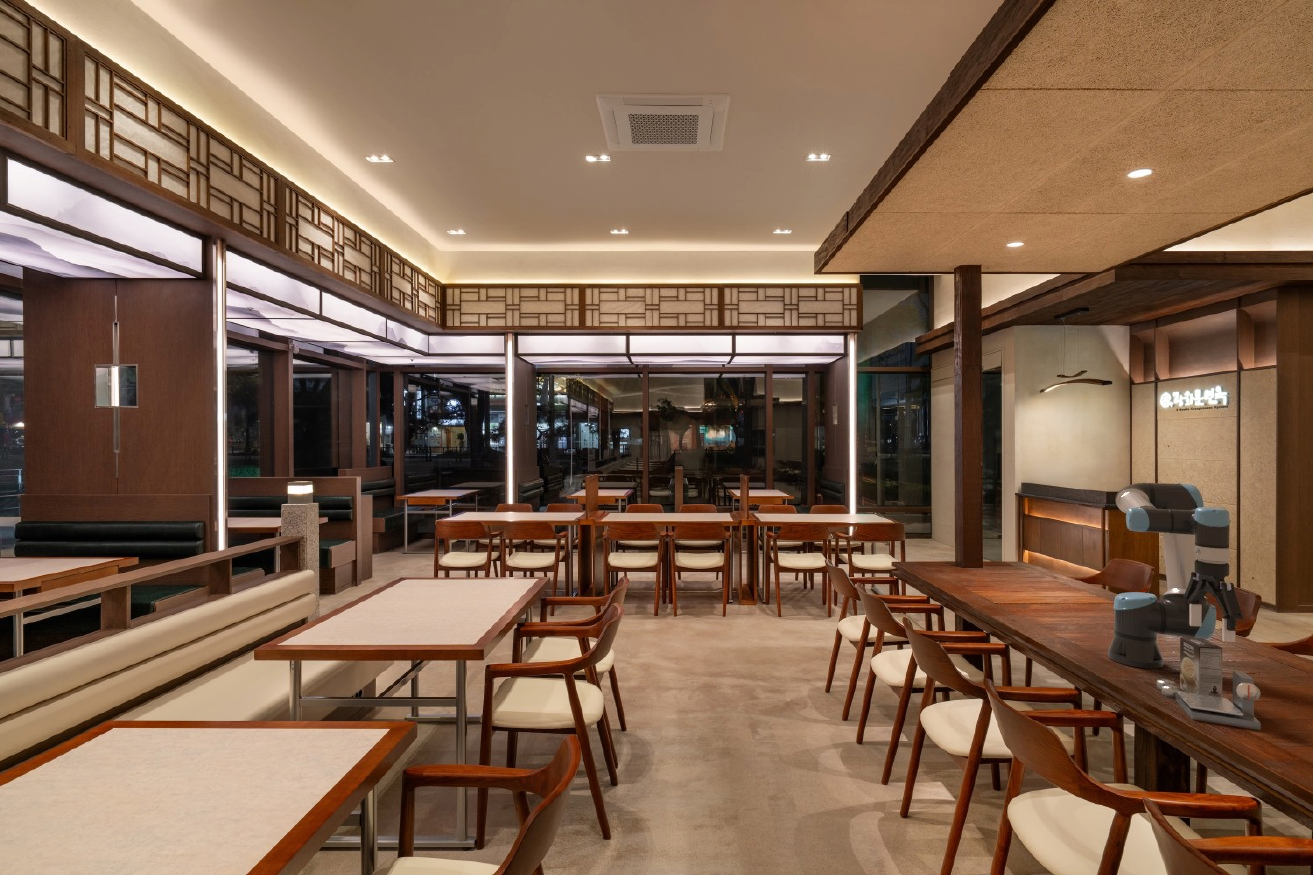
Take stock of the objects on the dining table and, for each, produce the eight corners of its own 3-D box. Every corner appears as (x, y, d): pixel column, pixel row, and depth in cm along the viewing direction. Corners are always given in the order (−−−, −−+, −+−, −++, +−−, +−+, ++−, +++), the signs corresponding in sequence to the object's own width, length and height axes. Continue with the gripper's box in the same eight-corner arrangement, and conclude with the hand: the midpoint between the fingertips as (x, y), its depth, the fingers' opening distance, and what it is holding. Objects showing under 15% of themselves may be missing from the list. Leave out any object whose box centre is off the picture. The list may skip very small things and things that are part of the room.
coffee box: (1178, 688, 187) (1178, 636, 188) (1202, 690, 186) (1202, 637, 186) (1198, 700, 178) (1198, 645, 179) (1224, 702, 177) (1223, 647, 177)
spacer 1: (1154, 685, 190) (1154, 677, 190) (1172, 688, 188) (1172, 680, 188) (1159, 690, 186) (1159, 682, 186) (1177, 693, 184) (1177, 685, 184)
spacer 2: (1159, 691, 185) (1159, 683, 185) (1178, 694, 183) (1178, 685, 183) (1164, 696, 181) (1164, 688, 181) (1183, 699, 179) (1183, 691, 179)
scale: (1175, 699, 179) (1175, 659, 179) (1243, 710, 172) (1243, 667, 172) (1192, 719, 166) (1192, 675, 166) (1266, 731, 159) (1266, 685, 159)
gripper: (1169, 551, 190) (1169, 619, 190) (1228, 570, 165) (1228, 647, 166) (1197, 552, 189) (1196, 620, 189) (1260, 571, 164) (1260, 649, 164)
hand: (1211, 633), depth 177 cm, fingers open, 13 cm apart
